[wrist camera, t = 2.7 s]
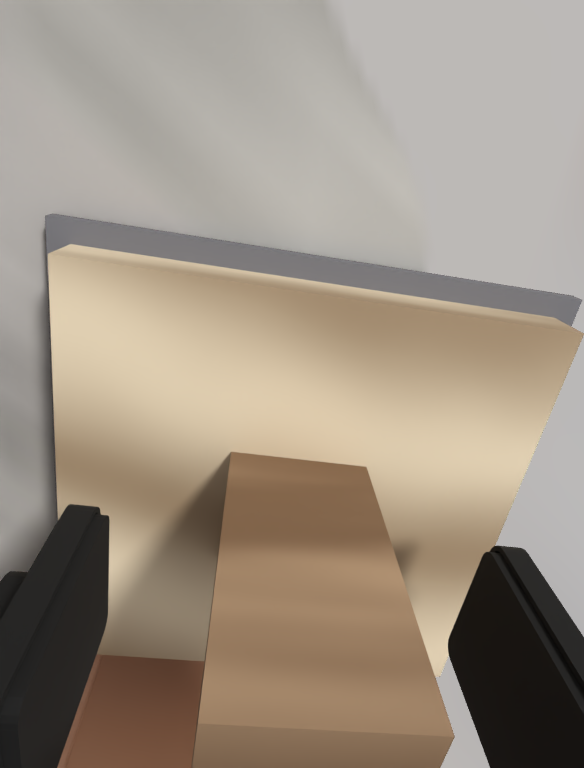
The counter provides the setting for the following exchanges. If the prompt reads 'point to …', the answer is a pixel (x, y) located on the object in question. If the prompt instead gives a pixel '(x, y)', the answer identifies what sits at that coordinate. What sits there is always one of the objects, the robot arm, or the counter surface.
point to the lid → (293, 488)
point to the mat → (300, 269)
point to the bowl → (136, 714)
